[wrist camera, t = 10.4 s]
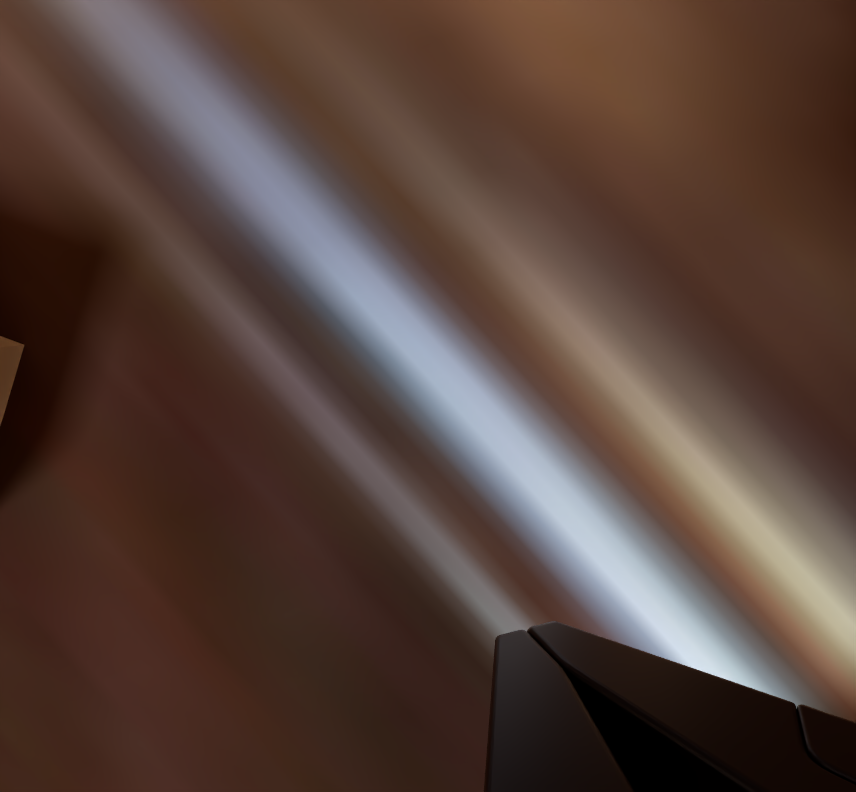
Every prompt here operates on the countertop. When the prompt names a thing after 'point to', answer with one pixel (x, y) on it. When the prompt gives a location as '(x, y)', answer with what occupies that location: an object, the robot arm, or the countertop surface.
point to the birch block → (8, 369)
